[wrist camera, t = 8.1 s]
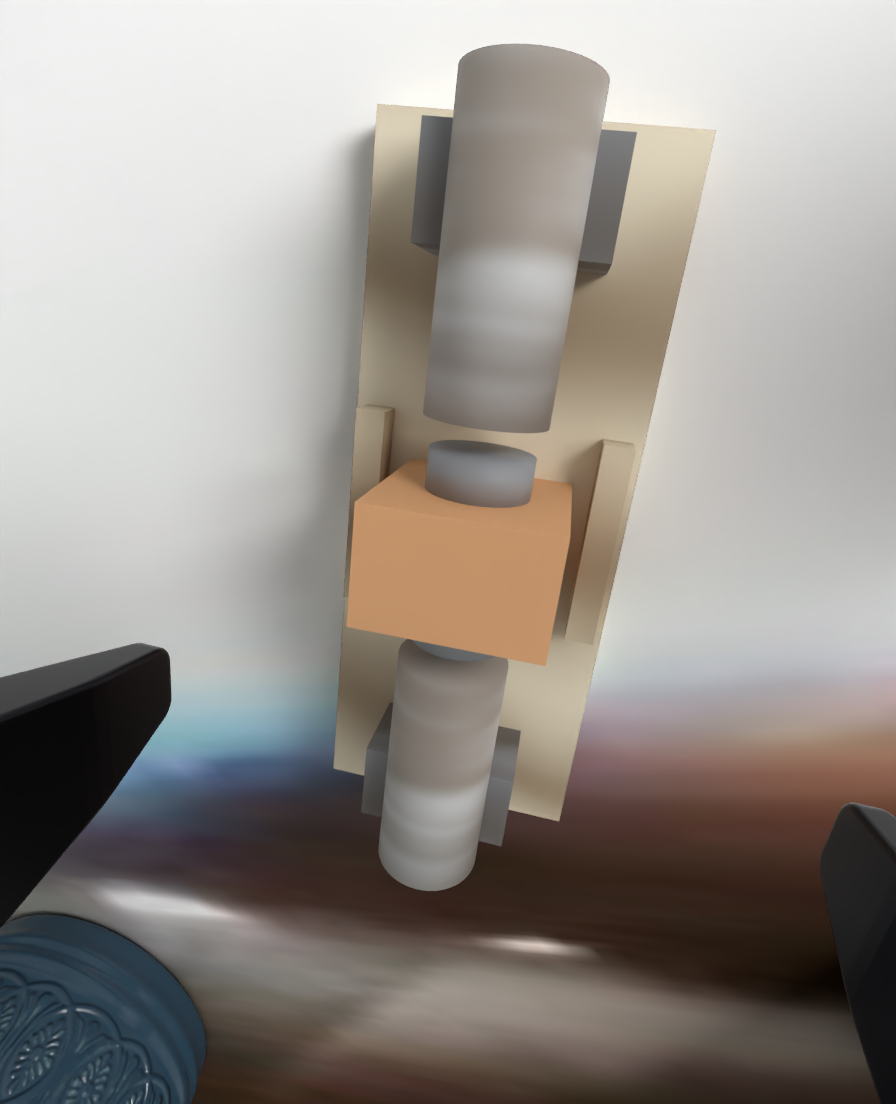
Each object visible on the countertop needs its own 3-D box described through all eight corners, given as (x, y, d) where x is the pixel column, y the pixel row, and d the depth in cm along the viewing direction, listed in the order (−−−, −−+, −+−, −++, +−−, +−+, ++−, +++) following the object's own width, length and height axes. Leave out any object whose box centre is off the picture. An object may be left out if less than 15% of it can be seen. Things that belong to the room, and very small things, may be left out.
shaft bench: (390, 119, 16) (313, 31, 12) (705, 145, 15) (765, 58, 11) (345, 747, 23) (284, 855, 19) (559, 797, 22) (554, 925, 17)
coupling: (415, 423, 18) (357, 456, 13) (579, 448, 17) (579, 490, 12) (399, 585, 19) (344, 664, 15) (547, 613, 19) (537, 704, 14)
